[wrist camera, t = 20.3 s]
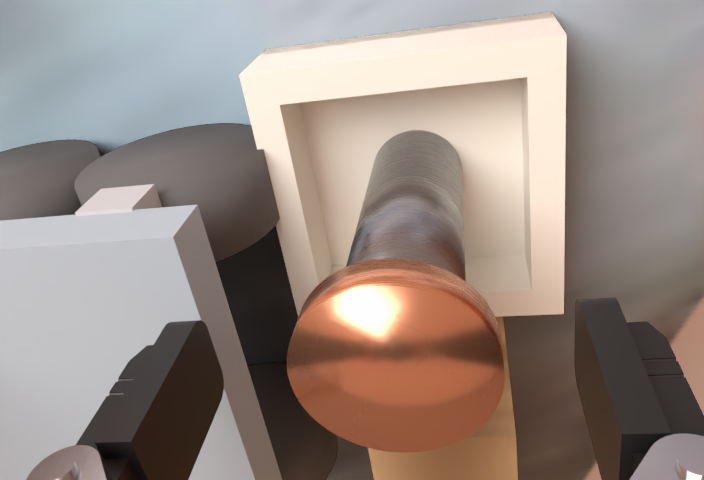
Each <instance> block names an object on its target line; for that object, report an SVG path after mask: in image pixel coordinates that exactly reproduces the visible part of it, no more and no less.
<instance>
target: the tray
mask: <svg viewBox="0 0 704 480" xmlns="http://www.w3.org/2000/svg"><path fill="white" fill-rule="evenodd" d="M566 47H567V35H566V33H565V31H564V30H563V28H562V27H561V25H560V24H559V22H558V21H557V19H556V18H555V16H554V15H553V13H552V12H547V13H539V14H531V15H524V16H516V17H508V18H501V19H493V20H485V21H478V22H470V23H462V24H455V25H447V26H439V27H432V28H424V29H416V30H409V31H401V32H394V33H386V34H378V35H371V36H363V37H355V38H348V39H340V40H332V41H325V42H317V43H309V44H302V45H294V46H286V47H279V48H271V49H265V50H264V51H263V52H262V53H261V54H260V55H259V56H258V57H257V58H256V59H255V60H254V61H253V62H252V63H251V64H250V65H249V66H248V67H247V68H246V69H245V70H244V71H243V72H242V73H241V74H240V75H239V77H240V81H241V85H242V89H243V94H244V98H245V102H246V106H247V110H248V114H249V118H250V122H251V126H252V130H253V134H254V138H255V143H256V147H257V150H258V149H264V153H265V158H266V162H267V166H268V170H269V174H270V178H271V183H272V187H273V191H274V195H275V199H276V204H277V208H278V212H279V216H280V219H279V221H278V222H277V224H276V228H277V233H278V237H279V241H280V245H281V249H282V253H283V257H284V261H285V265H286V269H287V273H288V278H289V282H290V286H291V290H292V294H293V298H294V302H295V306H296V310H297V314H298V317H299V314H300V312H301V309H302V307H303V304H304V302H305V301H306V299H307V298H308V296H309V294H310V293H311V292H312V291H313V290H314V289H315V287H316V286H317V285H318V284H320V283H321V282H322V281H323V280H324V279H325V278H327V277H328V276H330V275H332V274H333V273H335V272H336V271H338V270H341V269H343V268H345V267H346V265H347V261H348V257H349V254H350V250H351V246H352V242H353V239H354V235H355V231H356V227H357V224H358V220H359V216H360V213H361V209H362V205H363V201H364V198H365V194H366V190H367V187H368V183H369V179H370V175H371V172H372V168H373V164H374V160H375V157H376V155H377V153H378V151H379V150H380V148H381V147H382V146H383V144H384V143H386V142H387V141H388V140H389V139H390V138H392V137H394V136H395V135H397V134H400V133H402V132H406V131H412V130H423V131H428V132H432V133H435V134H437V135H439V136H441V137H443V138H444V139H446V140H447V141H448V142H449V143H450V144H451V145H452V146H453V147H454V148H455V150H456V151H457V153H458V155H459V157H460V160H461V163H462V173H463V206H464V240H465V273H466V282H467V283H468V284H470V285H471V286H472V287H473V288H474V289H475V290H476V291H477V292H478V293H479V294H480V295H481V296H482V297H483V298H484V300H485V301H486V302H487V303H488V305H489V306H490V308H491V310H492V311H493V313H494V315H495V317H501V316H526V315H551V314H564V247H565V147H566Z"/></svg>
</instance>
